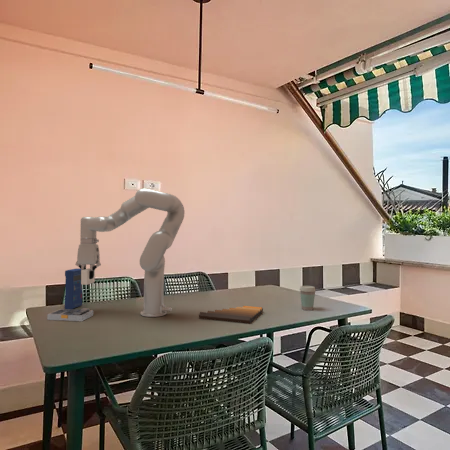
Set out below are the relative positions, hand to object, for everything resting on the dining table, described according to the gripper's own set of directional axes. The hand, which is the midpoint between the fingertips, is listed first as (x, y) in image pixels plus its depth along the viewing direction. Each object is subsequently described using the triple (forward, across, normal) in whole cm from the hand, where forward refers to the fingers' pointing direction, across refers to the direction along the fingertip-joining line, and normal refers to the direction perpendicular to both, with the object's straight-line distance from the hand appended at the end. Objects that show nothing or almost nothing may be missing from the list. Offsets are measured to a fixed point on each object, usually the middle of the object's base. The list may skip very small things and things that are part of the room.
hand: (88, 278), depth 189 cm
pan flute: (+18, -72, -8) cm, 74 cm away
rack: (+17, +3, +11) cm, 21 cm away
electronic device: (+17, +13, -10) cm, 24 cm away
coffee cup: (+17, -110, -29) cm, 115 cm away
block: (+2, 0, 0) cm, 2 cm away
